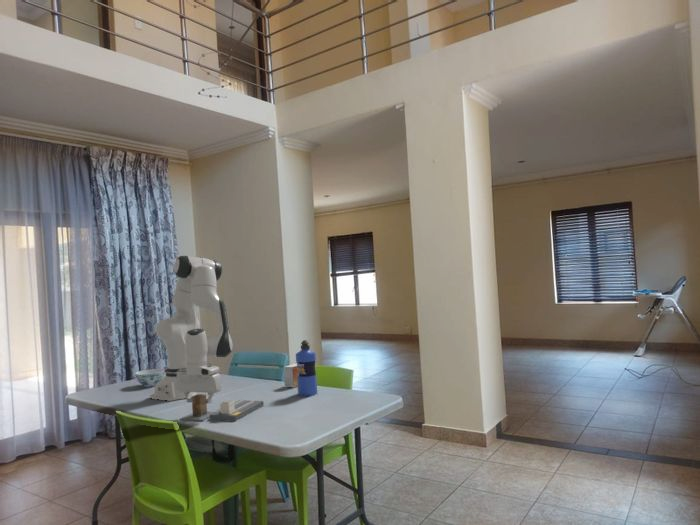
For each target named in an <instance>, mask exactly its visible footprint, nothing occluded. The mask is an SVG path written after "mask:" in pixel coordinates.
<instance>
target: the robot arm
mask: <svg viewBox="0 0 700 525" xmlns="http://www.w3.org/2000/svg"><path fill="white" fill-rule="evenodd" d="M173 272H174V274H175V276H176V277H178V280H177V283H176V285H175V290H174V294H173V298H172V305H173V307H175V316H171V317H166V318H164V319H162V320H160V321H159V322H158V323H157V324H156V326H155V334H156V336H157V337H158V338H159V340H161V341H162V342H163V344H164V346H165V350H166V354H167V364H168V365H167V367H168V368H166V369H164V373H165V376H163V377H162V379H161V380H160V381H159V382H158V383H157V384H156V386H154V393H153V394H151V395H150V396H149V399H150V398H152V399H153V400H157V399H159V400H158V401H165V400H167V401H166V402H169V401H170V402H171V401H176V400H183V399H186V403H187V404H188V403H191V404H192V396H195V395H197V394H198V393H203V394H204V393H205V394H206V393H207V396H208V397H207V398H206V403H207V404H211V403H212V398H213V397H214V394H215V393H219V392H221V391H222V378H221V375H220V373H219V372H220V367H219V366H217V365H215V364H211V363H210V362H209V359H208V358H227V357H228V356H229V355H230V354H231V353H232V352H233V348H234V347H233V345H234V344H233V340H232V337H231V332H230V327H229V321H228V314H227V310H226V305H225V302H224V300H223V299H222V298H220V297H219V294H218V292H217V286H218V284H217V281H218V280H220V278H221V276H222V273H223V267H222V264H221V262H220V261H217V260H214V259H209V258H206V257H201V256H200V257H198V256H197V257H196V256H188V255H179V256H178V257H177V258H176V259H175V262H174V264H173ZM197 307H198V308H199V309H202V310H205V311H208V312H211V313H214V314H215V315H216V320H217V325H218V331H219V332H218V333H215V334H206V330H205V329H203V328H201V327H200V326H201V324H200V321H199V319H198V318H197V312H196V310H197Z"/></svg>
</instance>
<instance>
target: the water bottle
mask: <svg viewBox="0 0 700 525" xmlns="http://www.w3.org/2000/svg"><path fill="white" fill-rule="evenodd" d="M309 343H310V342H309V341H308V340H307V339H305V340H302V341H301V342H300V351H298V352H297V353H295V362H296V364H297V368H298V373H297V384H298V386H297V395H298V396H299V395H302V396H301V397H311V396H310V395H313V396H316V395H318V382H317V380H318V379H317V373H316V372H317V371H316V360H317V358H316V356H317V355H316V352H315V351H313V350H311V349H310V348H311V347H310V346H311V345H310V344H309ZM315 394H316V395H315Z"/></svg>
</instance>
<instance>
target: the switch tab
mask: <svg viewBox="0 0 700 525" xmlns="http://www.w3.org/2000/svg"><path fill="white" fill-rule="evenodd" d="M234 403H235V401H234V400H228V399H227V400H224V401H222V402H221V403H219V404H220V408H219V410H221V414H228V413H229V412H231V411H233V410H235V405H234Z"/></svg>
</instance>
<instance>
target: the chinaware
mask: <svg viewBox="0 0 700 525" xmlns="http://www.w3.org/2000/svg"><path fill="white" fill-rule="evenodd" d="M164 370H165V369H163V368H153V369H152V368H151V369H144V370H139V371H136V372H134V376H135V379H136V381H137V382H138V383H139V384H141V385H142V386H143V387H144V388H152V387H151V386H153V387H155V385H156V384H157V383H158V382H160V381H161V380H162V379H163V378H164V374H165V371H164Z"/></svg>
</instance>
